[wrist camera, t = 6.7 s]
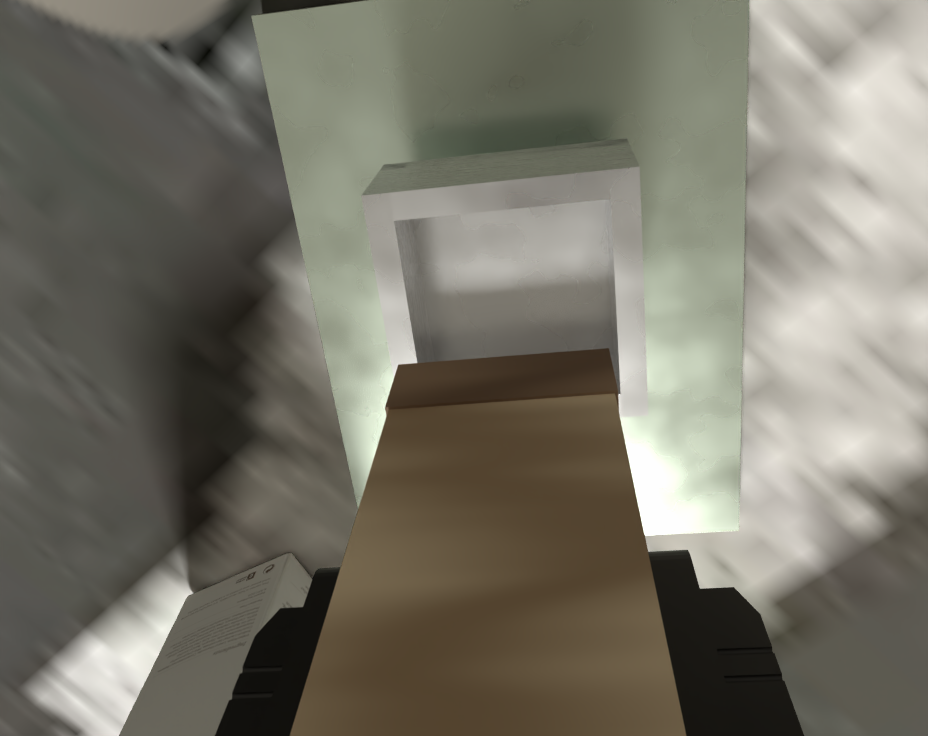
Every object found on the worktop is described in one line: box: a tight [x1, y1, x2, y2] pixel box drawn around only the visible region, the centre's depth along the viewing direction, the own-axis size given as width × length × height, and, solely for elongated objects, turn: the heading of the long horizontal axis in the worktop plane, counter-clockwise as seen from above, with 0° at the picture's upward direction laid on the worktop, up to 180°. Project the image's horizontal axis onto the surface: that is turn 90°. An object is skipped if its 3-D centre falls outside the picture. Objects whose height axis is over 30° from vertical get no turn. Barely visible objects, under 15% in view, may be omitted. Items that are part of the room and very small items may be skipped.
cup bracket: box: [252, 0, 749, 535], centre depth 29 cm, size 16×22×8 cm
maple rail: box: [290, 348, 686, 736], centre depth 10 cm, size 4×4×12 cm
